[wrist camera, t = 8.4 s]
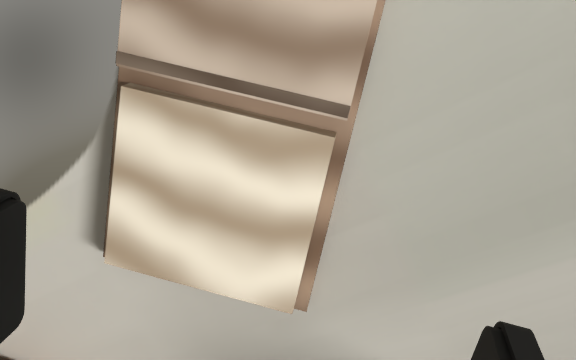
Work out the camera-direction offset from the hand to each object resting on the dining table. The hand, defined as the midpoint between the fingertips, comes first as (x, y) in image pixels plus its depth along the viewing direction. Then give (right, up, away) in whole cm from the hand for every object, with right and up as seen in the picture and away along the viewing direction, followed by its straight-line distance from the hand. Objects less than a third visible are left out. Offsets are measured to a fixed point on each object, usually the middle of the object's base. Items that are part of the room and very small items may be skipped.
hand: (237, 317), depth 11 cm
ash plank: (-4, +1, +29) cm, 30 cm away
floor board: (-3, +7, +29) cm, 30 cm away
